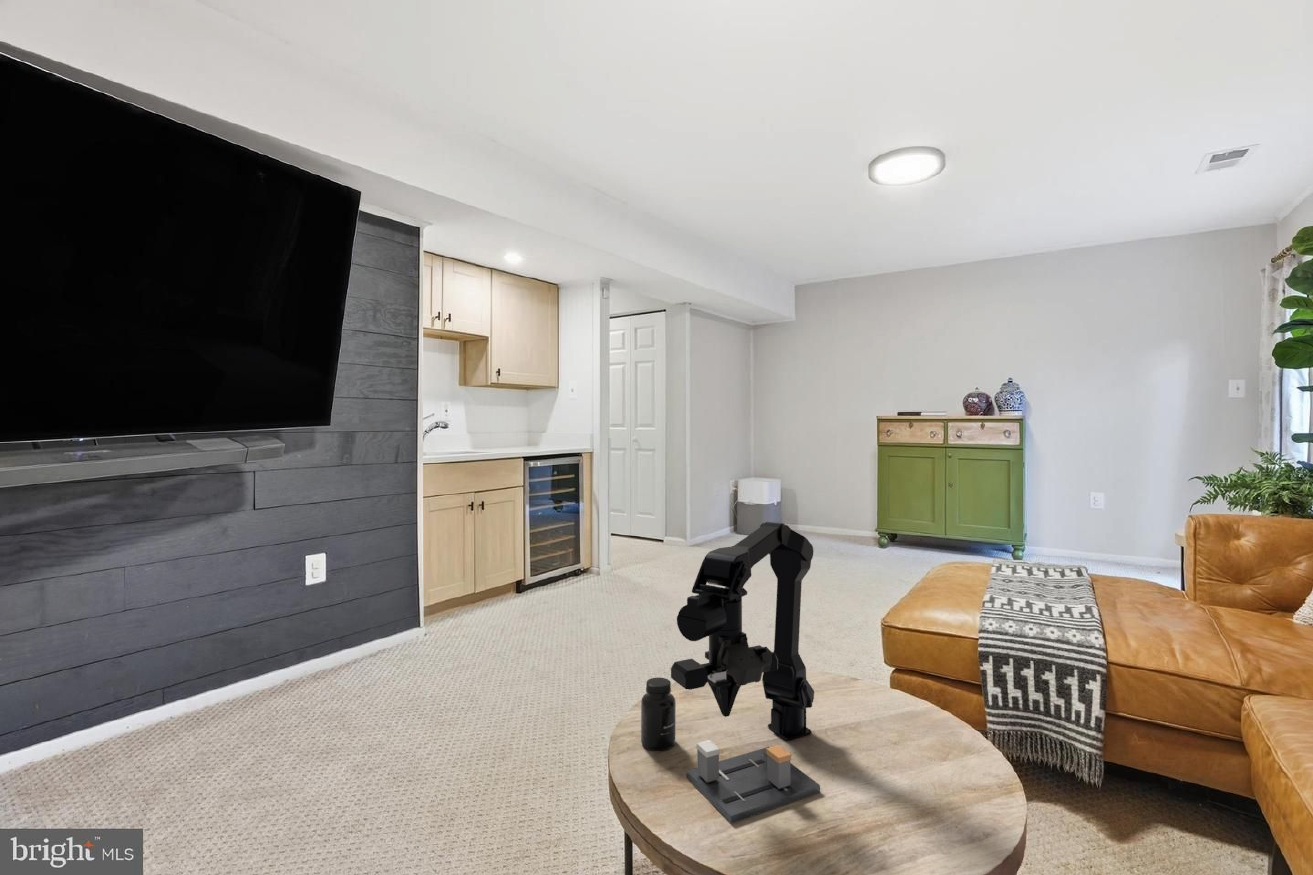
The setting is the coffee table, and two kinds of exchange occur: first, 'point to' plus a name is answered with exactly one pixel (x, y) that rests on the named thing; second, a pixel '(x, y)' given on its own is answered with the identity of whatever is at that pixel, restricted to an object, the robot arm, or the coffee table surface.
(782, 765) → the fader
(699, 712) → the coffee table surface
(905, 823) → the coffee table surface
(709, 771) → the fader
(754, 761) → the board
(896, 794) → the coffee table surface
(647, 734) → the supplement bottle
